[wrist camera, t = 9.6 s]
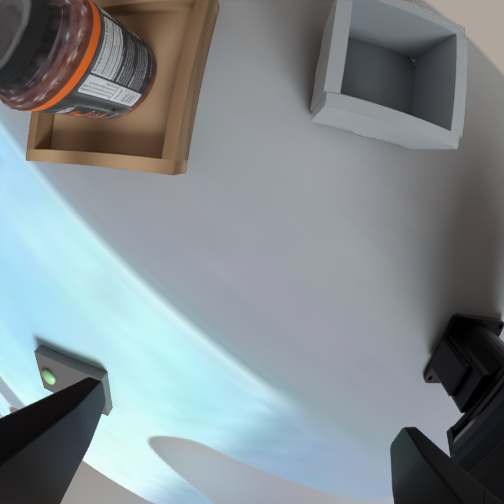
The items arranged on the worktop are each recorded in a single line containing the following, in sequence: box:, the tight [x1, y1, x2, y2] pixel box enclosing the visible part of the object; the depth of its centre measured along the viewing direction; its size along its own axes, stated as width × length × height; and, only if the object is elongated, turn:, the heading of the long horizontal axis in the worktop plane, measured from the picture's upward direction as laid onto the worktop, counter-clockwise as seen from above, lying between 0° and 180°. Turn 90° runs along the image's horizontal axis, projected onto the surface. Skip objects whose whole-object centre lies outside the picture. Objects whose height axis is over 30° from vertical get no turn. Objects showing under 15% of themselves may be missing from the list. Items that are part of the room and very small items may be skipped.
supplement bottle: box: [0, 0, 157, 120], centre depth 11 cm, size 6×6×11 cm
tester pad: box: [34, 346, 112, 416], centre depth 24 cm, size 8×5×2 cm, turn 80°
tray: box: [26, 0, 219, 175], centre depth 16 cm, size 12×12×2 cm
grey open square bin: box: [310, 0, 468, 150], centre depth 13 cm, size 7×7×6 cm
